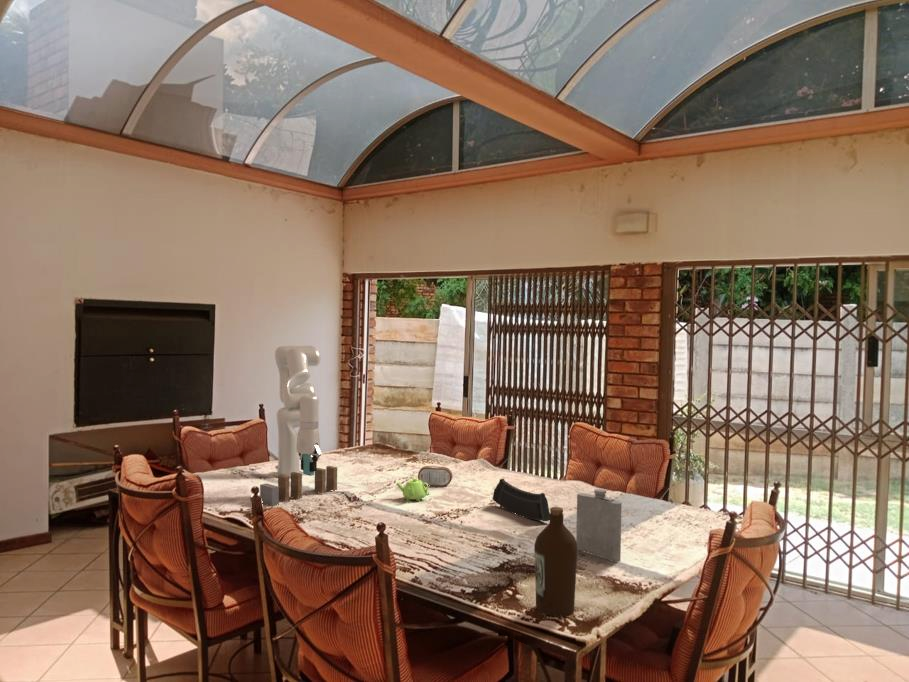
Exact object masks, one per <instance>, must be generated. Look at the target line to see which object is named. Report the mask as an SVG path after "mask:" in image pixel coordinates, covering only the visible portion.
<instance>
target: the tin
mask: <svg viewBox="0 0 909 682" xmlns="http://www.w3.org/2000/svg"><path fill="white" fill-rule="evenodd" d="M417 480H421V481H422V483H427V484H428V485H431V486H430V487H447V486H448V485H450V483H451V482H452V480H453V473H452V470H451V469H449V468H448V467H447V466H433V465H425V466H422V467H420V469H419V471H418V473H417ZM425 485H426V484H424V486H425Z"/></svg>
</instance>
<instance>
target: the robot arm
mask: <svg viewBox="0 0 909 682" xmlns="http://www.w3.org/2000/svg"><path fill="white" fill-rule="evenodd" d="M274 352H275V353H274V361H275V364H276V366H277V369H278V373H279V398H280V401H281V403H283V406H284V407H281V408H279V409H278V410H277V412H276V422H277V423H276V424H277V430H278V431H277V433H278V435H277V436H278V438H277V440H278V444H277V445H278V448H277V449H278V455H277V458H278V459H277V461H278V462H277V465H275V466H274V468H275V470H277V471H276V472H274V477H276V478H278V475H280V474H283V475H287V476H289V479H291V472H297V473H301V474H302V476H303V475H304V474H303V454H306V455H310V461H311V462H310V463H309V471H310V472H313V471H314V472H315V471H316V470H317V468H318V467H317V466H318V465H317V463H318V461H319V458H320V457H321V456H322V452H321V437H320V431H319V411H320V410H319V405H320V399H319V397H318V396H317V394H316V391H315V387H314V385H313V384H312V383H309V382H308V381H309V380H310V378H311V372H310V368H309V367H317V366H319V364H320V363H321V354H320V350H319V349H318V348H317V347H315V346H312V345H281V346H278V347H277V348H276V349H275V351H274ZM296 428H298V429H297V430H298V431H296V430H295V429H296ZM313 453H314V454H313ZM313 455H314V457H313Z"/></svg>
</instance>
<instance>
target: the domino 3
mask: <svg viewBox="0 0 909 682" xmlns="http://www.w3.org/2000/svg"><path fill="white" fill-rule="evenodd" d="M313 454H314V453H313ZM313 457H314V455H313ZM310 462H311V461H310V455H306V454H303V470H302V472H303V475H305V476H308V477H311V476H315V471H313V472H310V471H309V463H310Z"/></svg>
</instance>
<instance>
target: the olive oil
mask: <svg viewBox="0 0 909 682" xmlns="http://www.w3.org/2000/svg"><path fill="white" fill-rule="evenodd" d="M549 513H550V520H549V523H548V524H547V525H546V527H544V528H543V529H542V530H541V532H539V534H538V535H537V536H536V539H535V542H534V550H533V551H534V570H535V573H534V578H535V579H534V580H535V609H536V610H537V611H538V612H539V613H541V614H543V615H546V616H551V617H565V616H569V615H571V614H573V613H574V611H575V600H576V599H575V598H576V583H577V582H576V581H577V568H578V567H577V566H578V552H579V551H578V546H577V542H576V536H574V535H573V533H572V532H571V531H570V530H569V529H568V528H567V526H565V523H564V508H563V507H561V506H560V507H559V506H555V507H554V506H553V507H550V508H549Z"/></svg>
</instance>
